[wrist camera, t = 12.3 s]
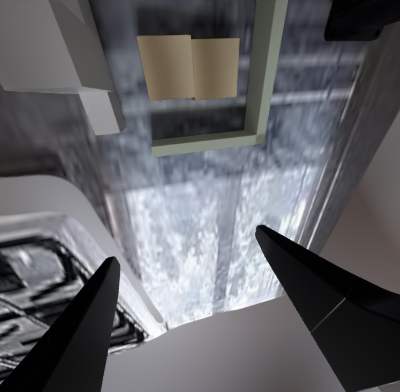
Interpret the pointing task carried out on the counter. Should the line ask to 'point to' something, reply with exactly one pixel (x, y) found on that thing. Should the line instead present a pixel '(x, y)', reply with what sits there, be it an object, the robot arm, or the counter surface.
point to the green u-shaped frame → (257, 89)
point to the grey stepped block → (58, 56)
